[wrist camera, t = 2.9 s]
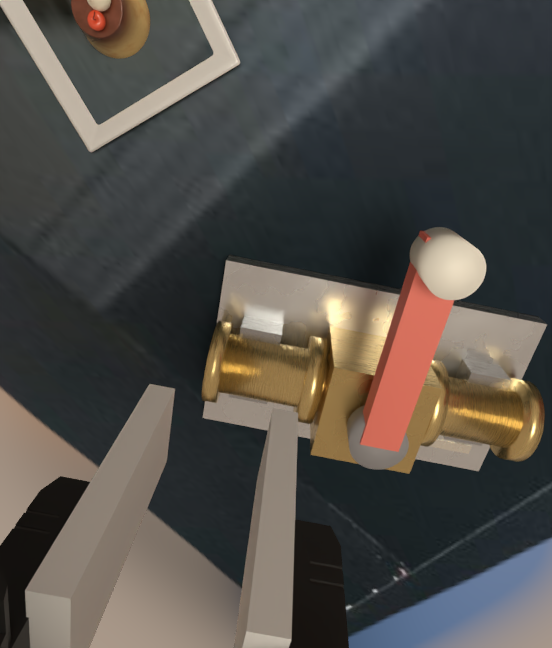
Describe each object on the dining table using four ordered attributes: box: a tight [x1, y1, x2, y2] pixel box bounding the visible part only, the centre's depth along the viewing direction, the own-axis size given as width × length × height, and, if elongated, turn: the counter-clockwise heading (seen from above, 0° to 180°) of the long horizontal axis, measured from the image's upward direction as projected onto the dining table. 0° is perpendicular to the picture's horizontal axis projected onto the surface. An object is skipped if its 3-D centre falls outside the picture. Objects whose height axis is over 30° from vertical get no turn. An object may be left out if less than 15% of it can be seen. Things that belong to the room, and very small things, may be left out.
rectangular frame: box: [0, 0, 240, 152], centre depth 28 cm, size 12×12×5 cm
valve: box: [202, 255, 547, 473], centre depth 34 cm, size 24×14×8 cm, turn 79°
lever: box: [347, 227, 486, 469], centre depth 26 cm, size 15×4×4 cm, turn 169°
